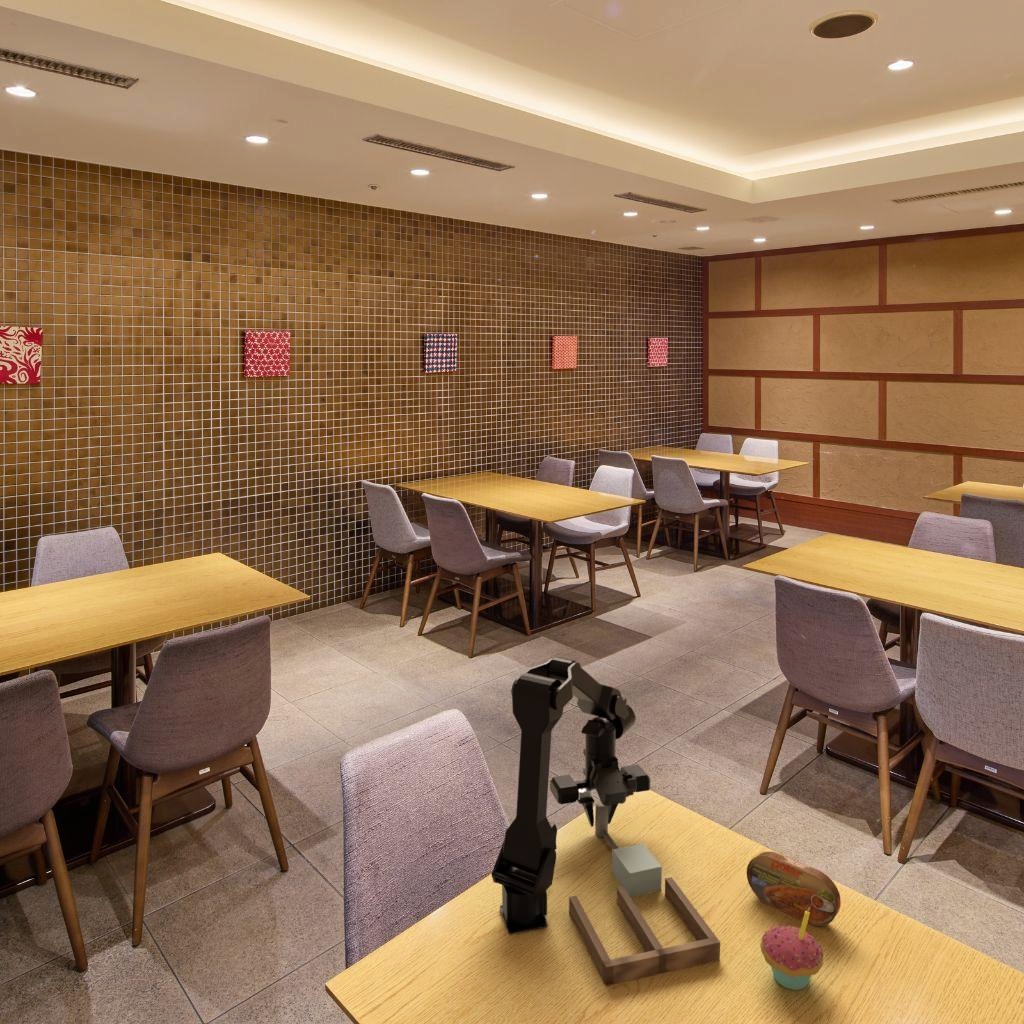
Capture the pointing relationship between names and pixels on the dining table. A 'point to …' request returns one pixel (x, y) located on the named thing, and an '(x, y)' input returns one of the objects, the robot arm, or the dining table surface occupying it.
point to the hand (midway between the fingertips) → (599, 824)
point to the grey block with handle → (630, 860)
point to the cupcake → (792, 954)
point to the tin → (794, 888)
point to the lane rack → (648, 939)
